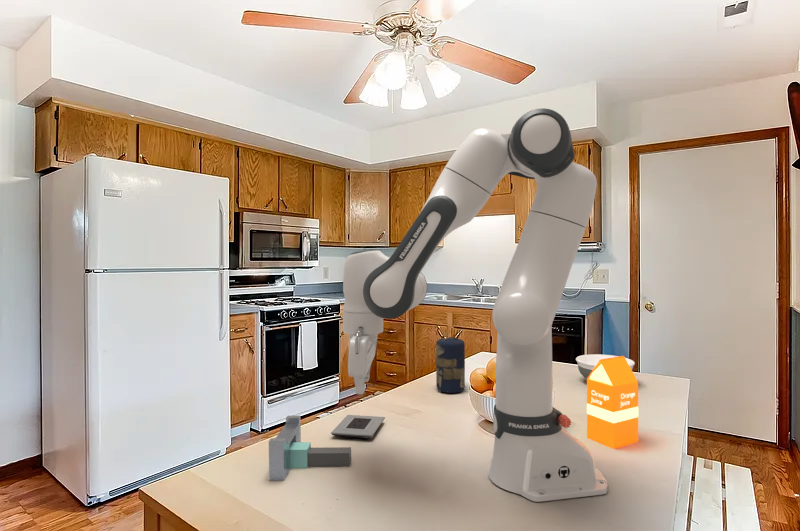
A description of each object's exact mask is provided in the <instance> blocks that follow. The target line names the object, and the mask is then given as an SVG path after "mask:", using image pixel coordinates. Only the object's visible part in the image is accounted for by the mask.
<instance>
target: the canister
mask: <svg viewBox="0 0 800 531" xmlns="http://www.w3.org/2000/svg"><path fill="white" fill-rule="evenodd" d="M465 344H466V343H465V341H464V340H463V339H460V338H458V337H454V336H449V337H446V338H440V339H438V340H437V341H436V344H435V350H436V351H435V353H436V356H435V357H436V358H435V359H436V360H435V365H436V373H435V374H436V375H435V376H436V378H435V379H436V380H435V383H436V389H437V390H438V391H440V392H441V393H442V392H443V393H448V394H450V393H451V394H452V393H453V394H456V393H461V392H463V391H464V390H465V388H466V387H465V386H466V385H465V384H466V382H465V380H466V378H465V377H466V376H465V375H466V374H465V372H466V371H465V370H466V369H465V368H466V367H465V366H466V364H465V363H466V362H465V361H466V358H465V357H466V356H465V355H466V354H465V353H466V352H465V351H466V350H465V349H466V348H465V347H466V345H465Z"/></svg>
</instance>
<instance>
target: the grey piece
mask: <svg viewBox="0 0 800 531" xmlns="http://www.w3.org/2000/svg"><path fill="white" fill-rule="evenodd" d="M301 422H302V421H301V415H286V417H285V423H284V426H283V427H282V428H281V430H280V431H279V433H278V434H277V436H276V437H274V438H273V437H272V438H270V439H269V440H268V473H269V474H268V475H269V476H268V479H269V480H268V481H285V480H286V478H287V476H288V475H289V472H290V471H291V468H290V446H291V445H292V443H293V442H302V440H301V439H302V436H301V435H302V432H301V431H302V428H301Z"/></svg>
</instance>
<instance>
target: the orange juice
mask: <svg viewBox="0 0 800 531" xmlns="http://www.w3.org/2000/svg"><path fill="white" fill-rule="evenodd" d="M618 356H619V355H618ZM625 358H626V357H625V355H621V356H619V357H613V358H607V359H601V360H599V362H598V363H597V365H596V366H595V368H594V369H593V371H592V372H591V374H590V375H589V377H588V378H587V379H586V418H587V419H586V438H587V439H588V440H591V441H594V442H596V443H598V444H601V445H602V446H605V447H607V448H610V449H613V450H615V449H618V448H623V447H626V446H628V445H632V444H635V443H639V381H638V379H637V378H636V376H635V374H634V372H633V369H632V370H631V368H630V366H629V365H628V363H627V361H626V359H625Z"/></svg>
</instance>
